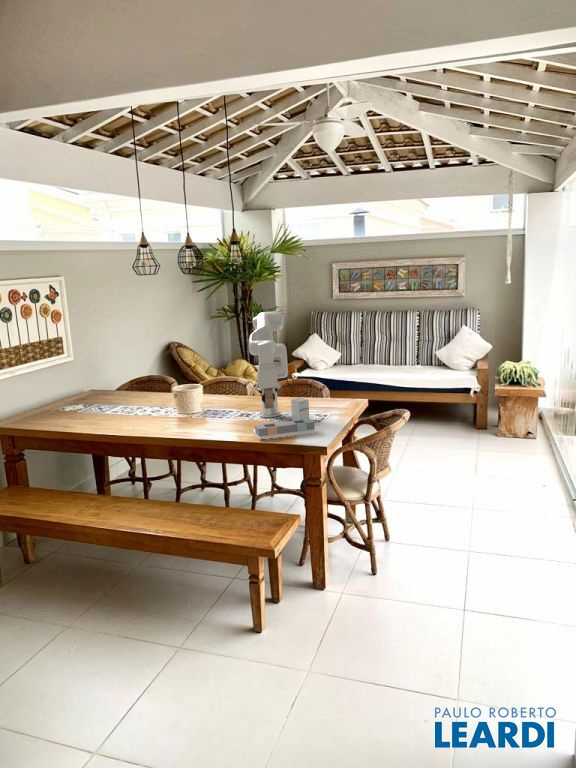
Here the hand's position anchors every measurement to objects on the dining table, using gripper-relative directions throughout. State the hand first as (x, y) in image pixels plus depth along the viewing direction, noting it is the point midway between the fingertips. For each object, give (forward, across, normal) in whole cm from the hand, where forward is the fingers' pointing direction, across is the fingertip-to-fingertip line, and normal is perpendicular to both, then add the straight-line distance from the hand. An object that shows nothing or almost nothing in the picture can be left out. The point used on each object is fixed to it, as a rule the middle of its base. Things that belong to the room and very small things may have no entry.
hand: (268, 401), depth 306 cm
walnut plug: (+3, 0, 0) cm, 3 cm away
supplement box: (+19, -24, -24) cm, 39 cm away
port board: (+19, -8, -4) cm, 21 cm away
